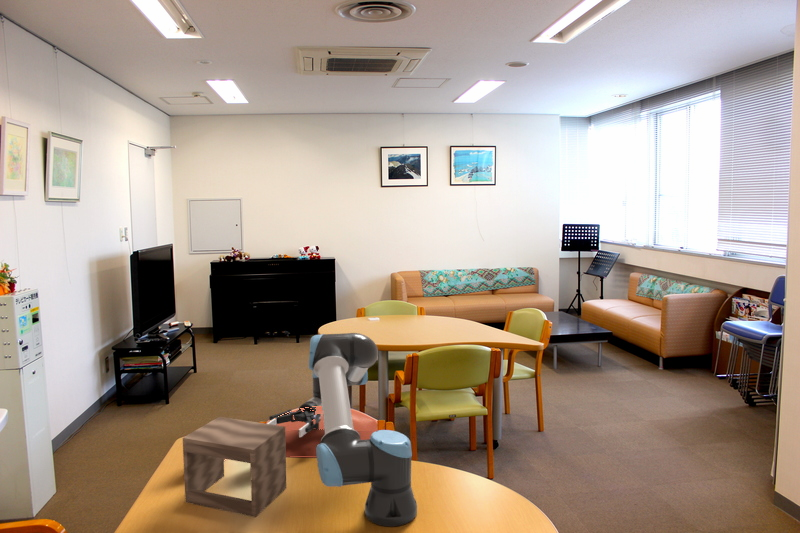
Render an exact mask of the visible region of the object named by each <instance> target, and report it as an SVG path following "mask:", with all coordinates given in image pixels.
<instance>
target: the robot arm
mask: <svg viewBox="0 0 800 533" xmlns="http://www.w3.org/2000/svg"><path fill="white" fill-rule="evenodd" d="M309 340H310V342H309V353H308V354H309V356H308V369H309V370H310V371H312V374H311V375H312V376H311V378H312V397H311V398H310V399H309V400H308V399H307V401H305V402H304V403H302V404H301V405H300V406H299V407H298V409H299V410H298V409H297V410H296V412H295V411H292V409H287V410H286V411H283V412H279V413H277V414H273V415H270V416H269V417H268V418H269V421H268V422H267V423H266V424H271V425H280V424H284V423H290V422H291V423H296V422H298V421H299V422H301V423H303V422H304V423H305V424H304V425H303V426H302V427H300V428H298V438H303V437H304V435H306V434H307V433H309V432H312V431H313V430H314V429H315V431H319V430H320V422H321V420H322V419H323V420H322V421H323V429H324V435H323V436H322V437H321V439H320V443H318V444H317V445H316V448H315V452H316V453H315V455H316V460H317V468H318V474H319V477H320V480H321V482H322V484H323V485H324V486H326V487H329V488H330V487H338V488H339V487H340V488H341V487H343V486H351V485H359V484H360V485H361V484H369V483H370V489H369V491H368V495H367V498H366V500H365V504H364V514H365V517H366V518H367V520H369V521H370V522H371V523H373V524H375V525H378V526H382V527H399V526H403V525H406V524H409V523H410V522H412V521H413V520H414V519H415V518H416V517H415V516H417V514H418V504H417V503H418V502H417V499H415V495H414V492H413V489H412V488H413V487H412V456H413V452H412V444H411V443H412V442H411V440H410V439H409V437H408V436H407V435H405V434H403V433H401V432H399V431H396V430H390V429H381V430H380V429H379V430H376V431H374V432H372V433H371V435H370V436H369V438H368V439H361V435H360V433H359V432H358V431H357V430H356V429H354V423H353V416H352V409H351V404H350V403H351V402H350V397H349V396H350V395H349V390H348V386H361V385H366V384H367V383H368V380H369V377H368V376H369V374H368V373H369V372H368V369H369V368H371V367H372V366H374V365H375V363H376V361H377V360H378V357H379V349H378V346H377V344H376V343H375V341H374V340H373V339H372V338H370V337H368V336H367V335H365V334H362V333H358V332H350V333H349V332H347V333H322V334H315V335H313V336H311V338H310V339H309ZM312 406H322V410H323V414H317V415H315V411H316V409H315V408H316V407H312ZM305 407H309V408H305ZM300 408H304V409H305V410H303V411H304V412H302V411H301V409H300ZM310 408H312V409H310ZM310 410H311V411H310ZM312 410H314V411H312ZM290 411H291V412H290ZM287 412H289V413H290V414H289V413H287ZM285 413H287V414H288V415H287V414H285ZM282 414H284V415H282ZM280 415H282V416H280ZM293 415H294V416H293ZM278 416H279V417H278ZM274 418H276V419H274ZM294 419H295V420H294ZM313 419H315V420H314V421H315V422H314V421H312V420H313ZM270 420H271V421H270Z"/></svg>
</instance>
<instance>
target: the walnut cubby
mask: <svg viewBox="0 0 800 533" xmlns="http://www.w3.org/2000/svg"><path fill="white" fill-rule="evenodd" d="M286 446H287V445H286V426H284V425H283V426H282V425H279V424H277V425H271V424H267V423H263V422H257V421H250V420H244V419H237V418H230V417H224V416H223V417H222V416H218V417H217V418H215V419H213V420H211V421H209V422H207V423H206V424H204V425H203V426H201V427H198V428H197V429H195V430H193V431H192V432H191V433H189V434H187V435H185V436H184V437H182V456H183V477H184V479H183V482H184V502H185V504H192V505H196V506H199V507H200V506H201V507H205V508H211V509H214V510H215V509H216V510H220V511H224V512H228V513H233V514H237V515H242V516H243V515H244V516H249V517H253V518H257V517H258V516H259V514H261V513H262V512H263V511H264V510H265V509H267V507H268V506H269V505H270V504H272V502H273V501H275V500H276V499H277V497H279V496H280V495H281V494H282V493H283V492H284V491H285V490H286V489H287V462H286V461H287V454H286V451H287V449H286V448H287V447H286ZM224 459H227V460H230V461H235V462H239V463H240V462H241V463H247V464H250V490H251V491H250V493H251V495H250V499H251V500H249V499H245V498H239V497H235V496H230V495H224V494H221V493H215V492H210V491H206V490H208V489H209V488H211V487H212V486H213V485H214V483H215V484H216V483H217V482H219V481H220V480H221V479H222V477H223V478H224V477H225V461H224ZM219 479H220V480H219ZM218 480H219V481H218Z"/></svg>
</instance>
